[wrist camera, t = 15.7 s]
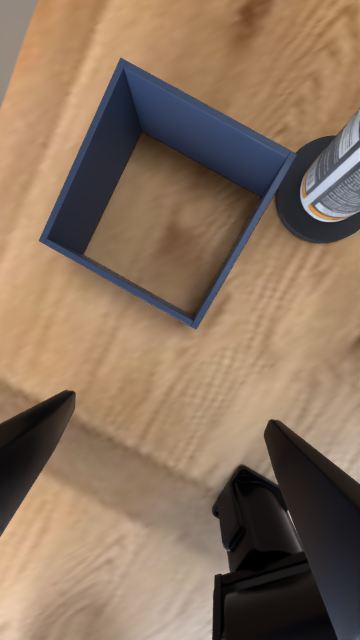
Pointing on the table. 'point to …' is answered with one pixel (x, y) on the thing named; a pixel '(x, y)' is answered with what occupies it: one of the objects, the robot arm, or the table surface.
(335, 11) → the table surface
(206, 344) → the table surface
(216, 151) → the open box
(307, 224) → the coaster
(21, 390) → the table surface
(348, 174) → the pill bottle
